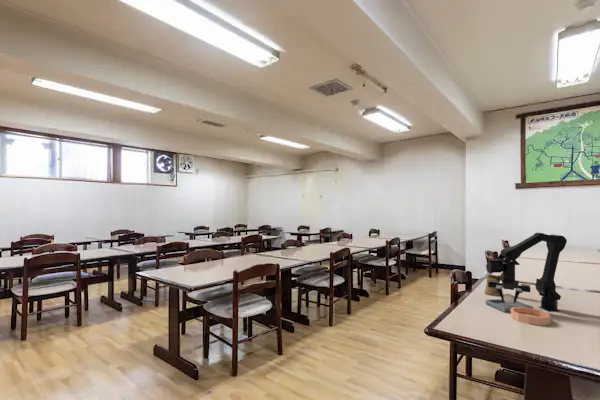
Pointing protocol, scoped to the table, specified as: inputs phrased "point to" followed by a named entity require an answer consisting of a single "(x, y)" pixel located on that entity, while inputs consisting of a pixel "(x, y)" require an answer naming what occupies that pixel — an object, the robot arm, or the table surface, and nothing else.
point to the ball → (508, 298)
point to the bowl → (530, 316)
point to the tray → (505, 305)
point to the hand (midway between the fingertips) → (508, 302)
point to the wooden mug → (489, 289)
